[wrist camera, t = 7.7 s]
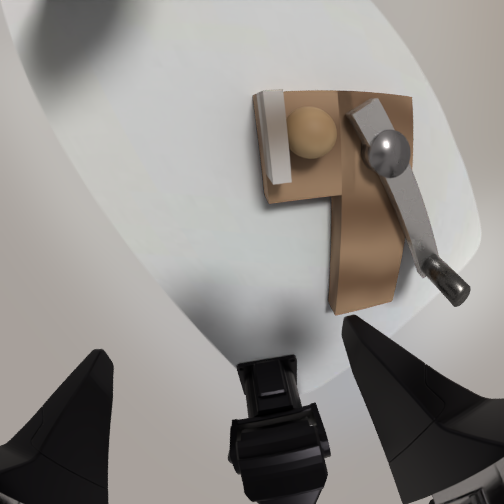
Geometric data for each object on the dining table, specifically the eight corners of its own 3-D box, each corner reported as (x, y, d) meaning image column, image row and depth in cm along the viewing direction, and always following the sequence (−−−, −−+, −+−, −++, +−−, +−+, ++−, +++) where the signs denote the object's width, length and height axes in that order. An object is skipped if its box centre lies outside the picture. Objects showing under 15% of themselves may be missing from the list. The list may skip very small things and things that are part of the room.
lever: (437, 254, 21) (475, 291, 16) (412, 274, 22) (448, 315, 17) (374, 94, 14) (433, 98, 9) (337, 117, 15) (390, 126, 10)
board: (382, 288, 25) (407, 322, 21) (275, 311, 25) (286, 353, 20) (396, 96, 16) (439, 99, 12) (252, 95, 15) (264, 89, 11)
